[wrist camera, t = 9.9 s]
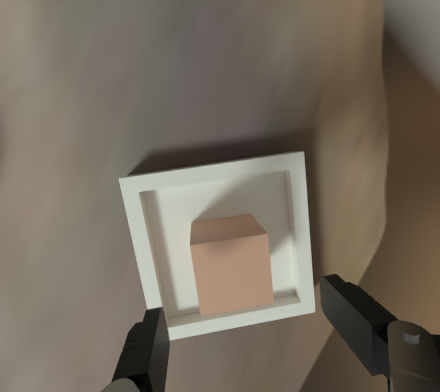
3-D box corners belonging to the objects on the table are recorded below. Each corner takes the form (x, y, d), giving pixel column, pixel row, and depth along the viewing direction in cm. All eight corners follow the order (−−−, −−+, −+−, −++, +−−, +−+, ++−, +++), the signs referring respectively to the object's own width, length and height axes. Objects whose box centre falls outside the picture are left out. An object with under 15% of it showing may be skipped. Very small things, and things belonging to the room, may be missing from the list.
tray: (127, 175, 20) (118, 178, 18) (291, 151, 21) (304, 151, 19) (159, 323, 23) (155, 343, 20) (303, 296, 24) (315, 312, 21)
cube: (191, 222, 20) (189, 245, 15) (250, 213, 20) (267, 233, 16) (199, 277, 21) (200, 316, 16) (256, 268, 21) (274, 303, 17)
